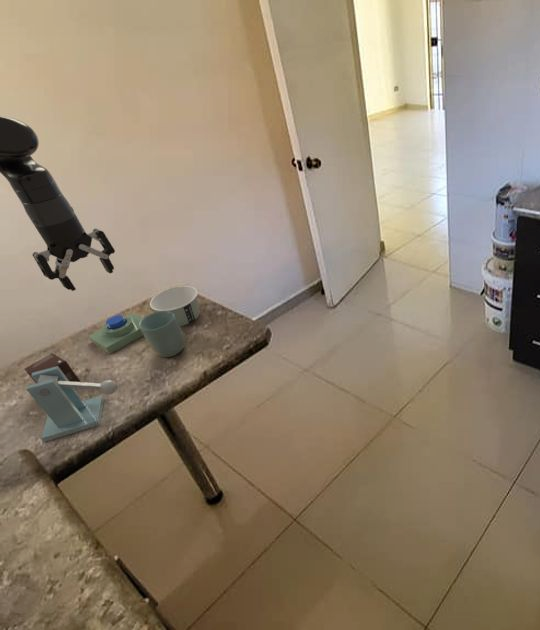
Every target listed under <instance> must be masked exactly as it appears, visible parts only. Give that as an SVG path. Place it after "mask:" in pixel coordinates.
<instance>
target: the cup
mask: <svg viewBox="0 0 540 630" xmlns="http://www.w3.org/2000/svg"><path fill="white" fill-rule="evenodd" d="M142 318H143V319H142V320H141V321H140V323H139V328H140V330H141V332H142V334H143V338H144V339H145V341H146V343H147V344H148V346H149V348H150V349H151V350H152V351H153V352H154V353H155V354H156V355H157V356H160V357H163V358H171V357H175V356H176V355H178V354H179V353H181V352H182V351H183V349H184V348H185V345H186V339H185V334H184V332H183V329H182V326H180V325H179V323H178V320H177V318H176V316H175V315H174V314H173V313H172V312H170V311H158V312H156V311H154V312H152V313H149V314H148V315H146V316H144V317H142Z"/></svg>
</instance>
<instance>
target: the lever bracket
mask: <svg viewBox="0 0 540 630" xmlns="http://www.w3.org/2000/svg"><path fill="white" fill-rule="evenodd" d="M40 375H48V376H58V381H69V380H68V379H67V378H66V376H65V375H64V374H63V372H62V371H61V369H60V368H59V367H58V366H56V367H52V368H49V369H45V370H41V371H37V372H34V373H32V375H31V376H32V377H33V379H34V380H35V381H36V382H37V383H33V384H29V385H27V386H26V388H25V390H26V391H27V392H28V393H29V395H30V396H31V398H33V400H34V401H35V402H36V403H37V404H38V405H39V407H40V408H41V409H42V410H43V412H44V413H45V414H46V415H47V416H46V417H47V418H46V421H45V423H44V427H43V430H42V434H41V437H40V439H41V440H42V442H43V443H46V442H49V441H52V440H56V439H59V438H62V437H65V436H68V435H71V434H76V433H78V432H81V431H84V430H88V429H91V428H95V427H97V426H100V425H101V421H102V414H103V410H104V404H105V398H104V396H102V395H100V396H96V397H93V398H89V399H85V400H84V399H83V398H82V397H81V395H80V394H79V393H78V391H77V389H70V388H61V387H60V386H59V385H58V383H57V382H56V381H55V379H51V380H47V381H44V382H40V383H38V380H39V377H40ZM33 379H32V380H33ZM34 380H33V381H34Z"/></svg>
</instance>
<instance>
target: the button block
mask: <svg viewBox="0 0 540 630" xmlns="http://www.w3.org/2000/svg"><path fill="white" fill-rule="evenodd" d="M122 316H123V317H124V319H125V321H126V324H125V325H124V326H122V327H120V328H117V329H109V327H108V326H107V324H106V322H105V323H104V324H103V325H102V326H101V329H99V330H97V331H95V332H93V333H91V334H89V335H88V339H89V341H90V342H91V344H93V345H95V346H96V347H98V348H99V349H101V350H103V351H104V352H106V353H107V354H108V355H111V354H113V353H114V352H116V351H118V350H120V349H121V348H123V347H125V346H127V345H128V344H130V343H132V342H134V341H135V340H137V339H139V338H141V337H144V335H143V334H142V332H141V330H140V328H139V323H140V321H141V320H142V319H143V318H144V317H142V316H141V315H138V314H137V313H135V312H131V313H129V314H127V315H122Z"/></svg>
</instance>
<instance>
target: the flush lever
mask: <svg viewBox="0 0 540 630" xmlns="http://www.w3.org/2000/svg"><path fill="white" fill-rule="evenodd" d="M51 379H55V381H56V382H57V383H58V385H59V386H60V387H61V388H70V389H75V390H90V391H99V392H100V393H101V394H102V395H105V396H110V395H111V396H112V395H113V394H115V393H116V392H117V390H118V383H117V381H115V380H113V379H105V380H103V381H102V382H85V381H84V382H83V381H81V382H70V381H58V376H48V375H40V377H39V380H38V383H40V382H44V381H47V380H51Z"/></svg>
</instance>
